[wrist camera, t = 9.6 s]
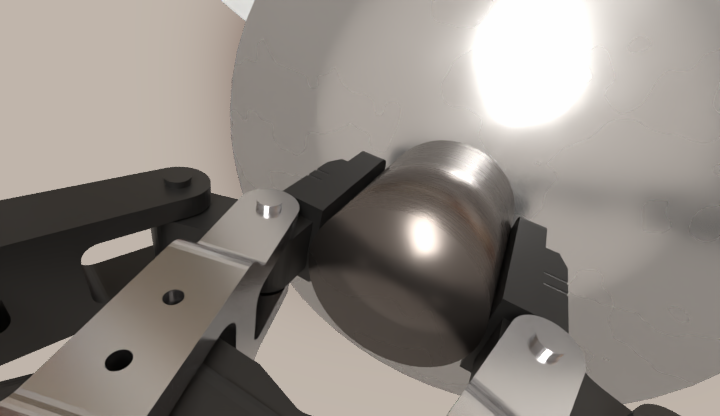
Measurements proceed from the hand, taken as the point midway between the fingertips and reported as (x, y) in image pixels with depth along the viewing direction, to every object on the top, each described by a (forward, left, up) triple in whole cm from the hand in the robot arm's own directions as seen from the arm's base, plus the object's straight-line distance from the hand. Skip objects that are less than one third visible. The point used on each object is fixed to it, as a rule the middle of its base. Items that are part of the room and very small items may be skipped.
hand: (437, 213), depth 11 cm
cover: (0, 0, -20) cm, 20 cm away
